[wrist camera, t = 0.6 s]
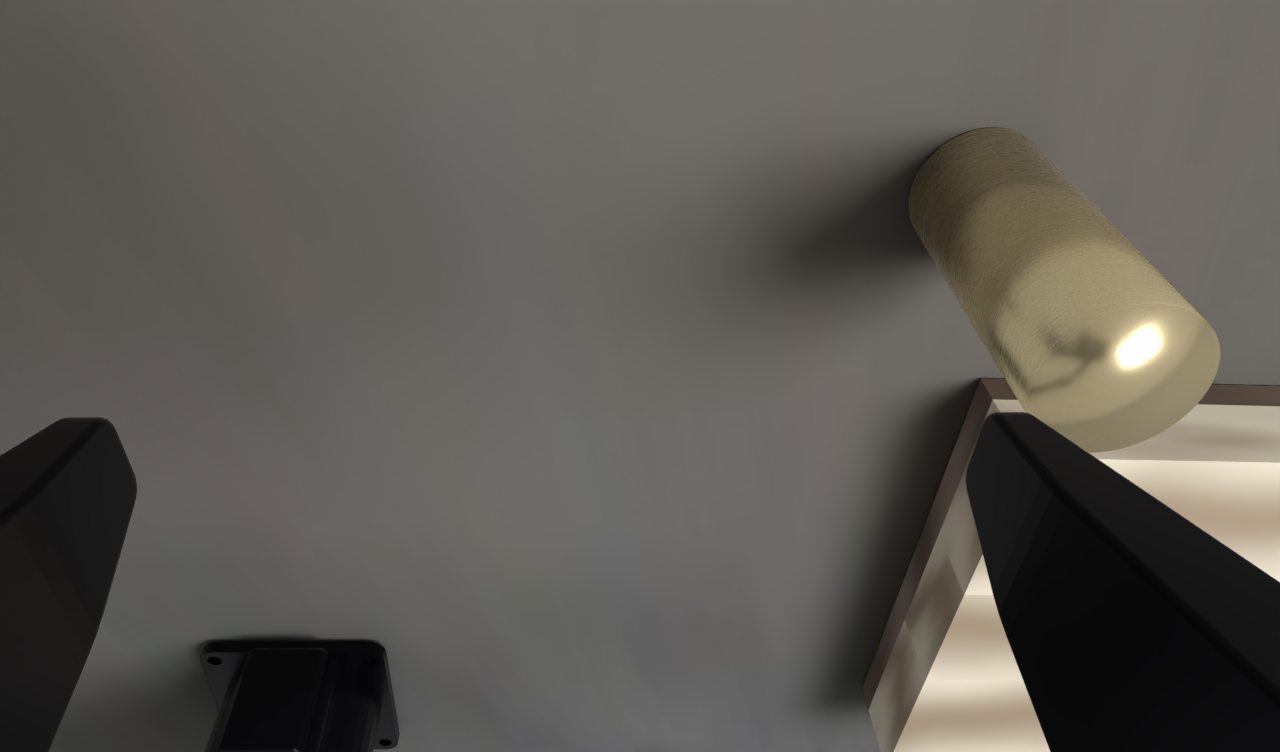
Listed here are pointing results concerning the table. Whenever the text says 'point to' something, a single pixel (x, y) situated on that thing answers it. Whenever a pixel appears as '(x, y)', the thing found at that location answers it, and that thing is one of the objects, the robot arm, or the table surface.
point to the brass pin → (1060, 294)
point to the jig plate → (961, 592)
